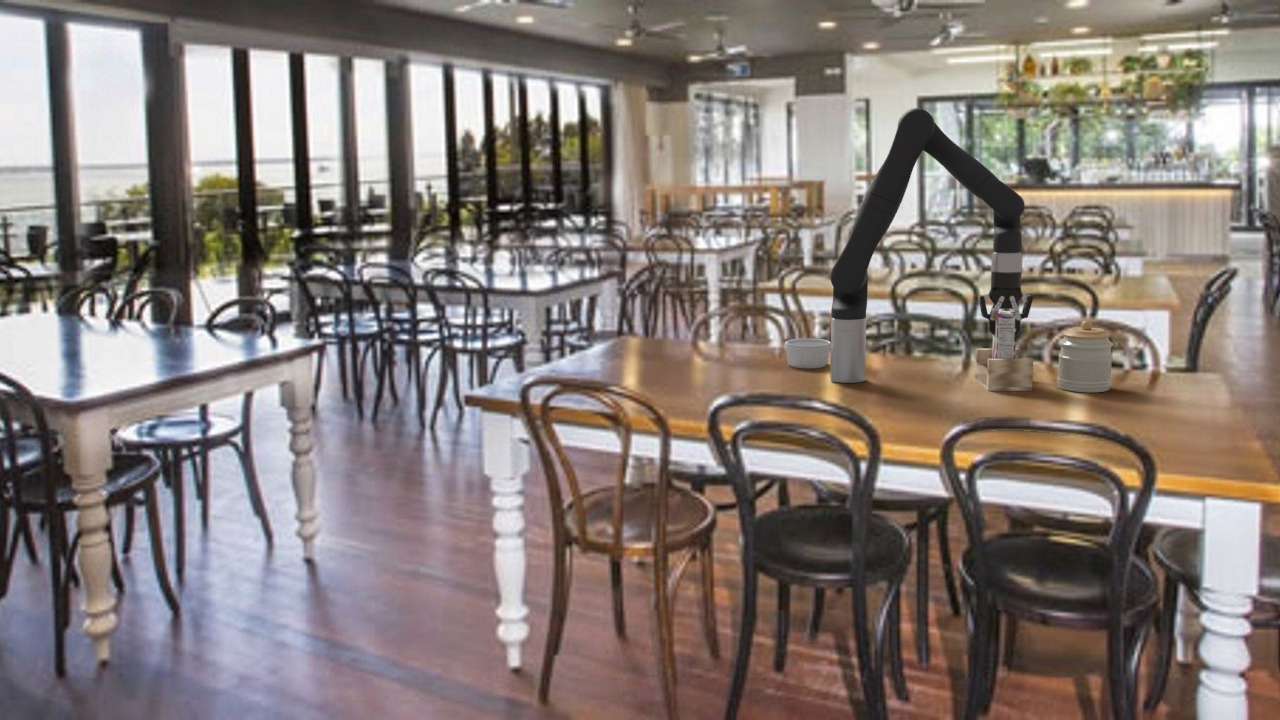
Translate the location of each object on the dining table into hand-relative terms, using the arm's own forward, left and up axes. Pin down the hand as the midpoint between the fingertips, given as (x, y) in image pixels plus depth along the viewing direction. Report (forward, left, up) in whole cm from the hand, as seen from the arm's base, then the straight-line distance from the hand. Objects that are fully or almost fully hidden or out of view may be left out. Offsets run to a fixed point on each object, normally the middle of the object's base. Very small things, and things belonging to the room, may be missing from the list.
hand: (1004, 333), depth 300 cm
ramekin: (-50, +28, -14) cm, 59 cm away
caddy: (0, 0, -13) cm, 13 cm away
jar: (+19, -6, -14) cm, 24 cm away
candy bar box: (0, 0, -11) cm, 11 cm away
